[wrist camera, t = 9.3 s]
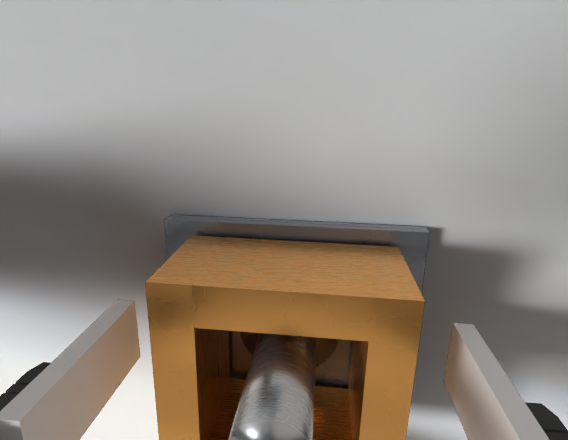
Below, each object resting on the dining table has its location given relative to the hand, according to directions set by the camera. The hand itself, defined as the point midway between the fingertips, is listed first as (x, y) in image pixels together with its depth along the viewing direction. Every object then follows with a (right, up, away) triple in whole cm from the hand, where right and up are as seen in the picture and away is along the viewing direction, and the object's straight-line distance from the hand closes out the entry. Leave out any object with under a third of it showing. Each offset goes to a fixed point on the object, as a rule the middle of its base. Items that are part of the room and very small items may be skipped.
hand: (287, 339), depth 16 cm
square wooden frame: (0, 0, +1) cm, 1 cm away
